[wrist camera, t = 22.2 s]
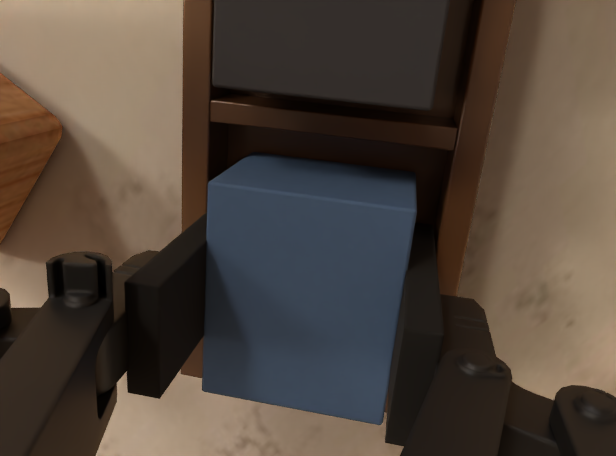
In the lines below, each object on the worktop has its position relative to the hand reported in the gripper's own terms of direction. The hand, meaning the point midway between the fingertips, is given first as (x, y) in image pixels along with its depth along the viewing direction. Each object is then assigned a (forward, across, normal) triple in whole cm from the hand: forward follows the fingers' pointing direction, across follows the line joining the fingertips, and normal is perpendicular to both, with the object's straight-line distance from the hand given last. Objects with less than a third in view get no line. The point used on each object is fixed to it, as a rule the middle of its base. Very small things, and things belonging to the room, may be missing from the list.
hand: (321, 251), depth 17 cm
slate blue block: (0, 0, 0) cm, 0 cm away
